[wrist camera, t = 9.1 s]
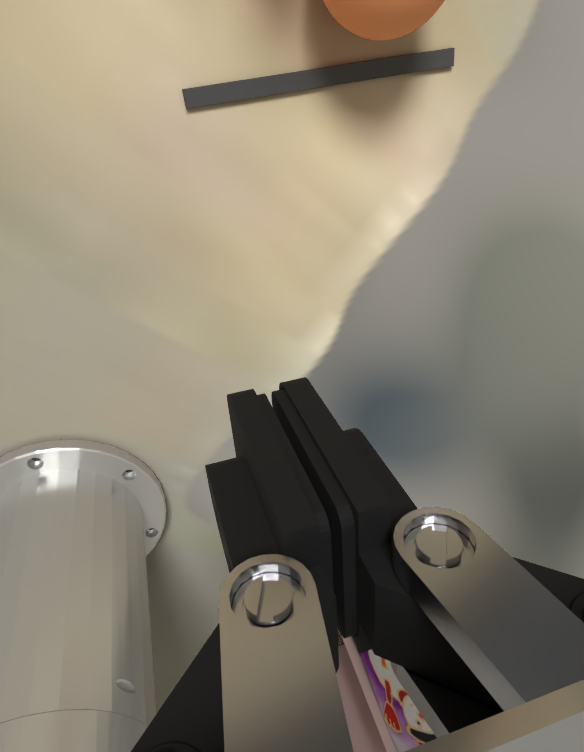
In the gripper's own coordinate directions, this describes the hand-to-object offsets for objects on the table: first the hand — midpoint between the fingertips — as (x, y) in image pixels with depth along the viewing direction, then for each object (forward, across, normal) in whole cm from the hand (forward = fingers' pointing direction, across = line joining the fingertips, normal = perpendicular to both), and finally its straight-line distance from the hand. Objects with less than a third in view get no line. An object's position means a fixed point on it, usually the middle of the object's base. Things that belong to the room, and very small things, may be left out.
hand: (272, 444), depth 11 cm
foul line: (+20, -9, -6) cm, 22 cm away
